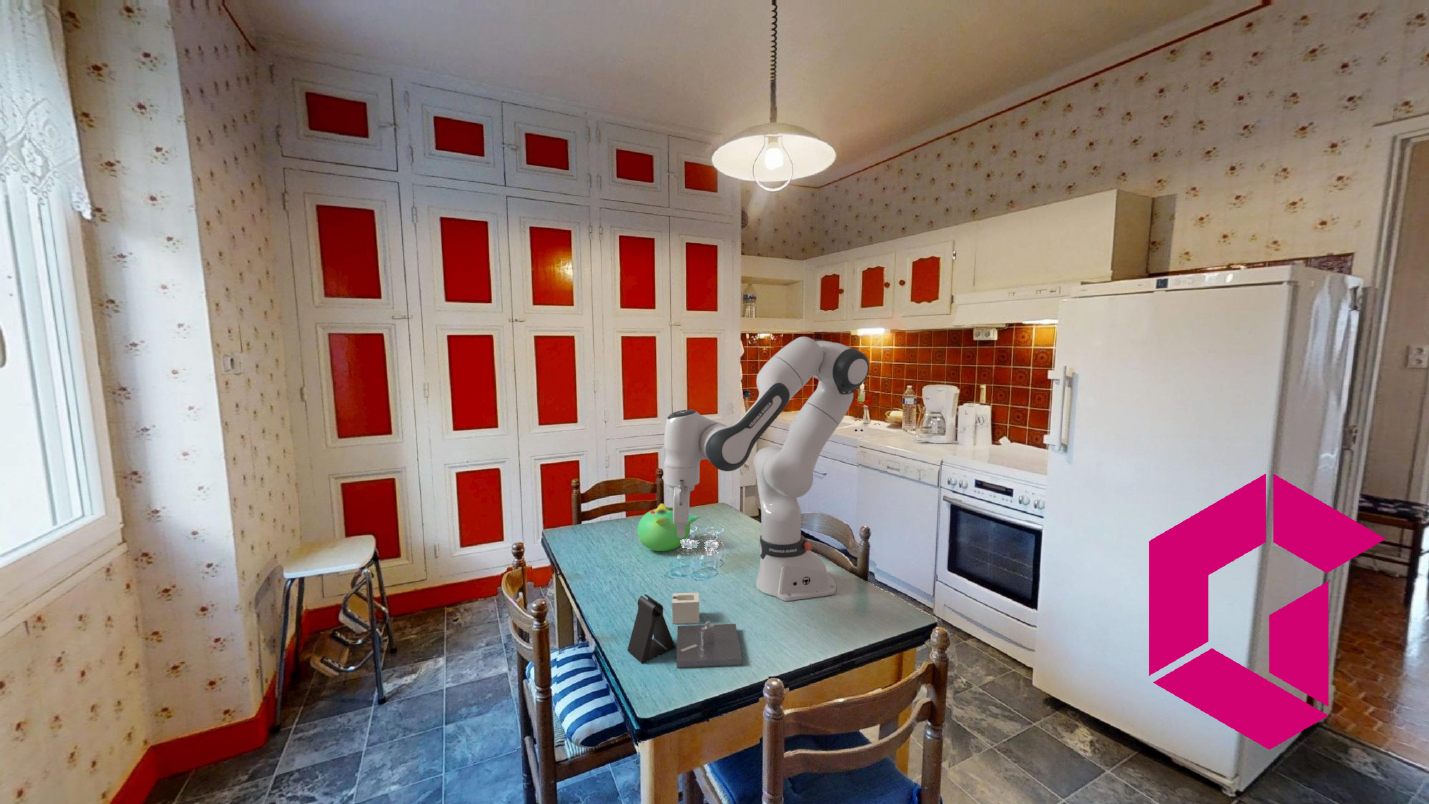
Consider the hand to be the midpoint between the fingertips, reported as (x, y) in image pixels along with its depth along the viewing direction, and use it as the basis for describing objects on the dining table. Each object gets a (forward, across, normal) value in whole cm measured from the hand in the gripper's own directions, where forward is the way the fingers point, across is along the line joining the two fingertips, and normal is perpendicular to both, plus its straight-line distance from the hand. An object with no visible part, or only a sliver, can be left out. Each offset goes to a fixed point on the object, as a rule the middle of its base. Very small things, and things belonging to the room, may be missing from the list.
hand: (681, 529), depth 130 cm
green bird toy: (+23, +43, +6) cm, 49 cm away
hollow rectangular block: (+22, -2, -1) cm, 23 cm away
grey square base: (+22, -15, -6) cm, 28 cm away
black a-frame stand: (+23, -15, +6) cm, 28 cm away
